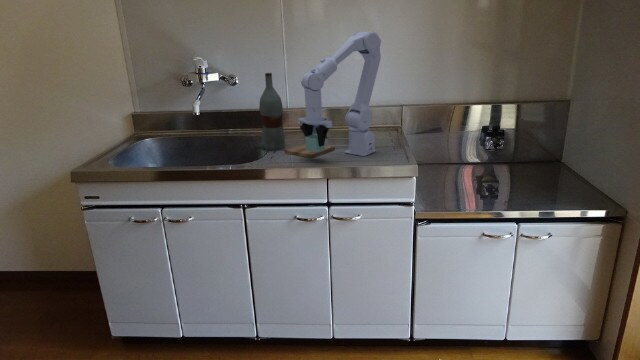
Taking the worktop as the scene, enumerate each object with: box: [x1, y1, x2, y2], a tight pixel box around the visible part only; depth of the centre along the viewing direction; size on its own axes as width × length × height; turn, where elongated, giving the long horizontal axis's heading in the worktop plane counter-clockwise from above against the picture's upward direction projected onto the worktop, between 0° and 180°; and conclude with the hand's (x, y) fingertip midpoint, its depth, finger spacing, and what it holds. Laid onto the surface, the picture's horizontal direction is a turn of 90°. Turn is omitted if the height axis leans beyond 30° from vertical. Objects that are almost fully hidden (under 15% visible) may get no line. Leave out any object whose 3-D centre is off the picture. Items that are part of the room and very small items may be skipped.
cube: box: [304, 134, 326, 152], centre depth 160 cm, size 5×5×5 cm
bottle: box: [259, 72, 286, 151], centre depth 177 cm, size 9×9×30 cm
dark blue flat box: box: [313, 116, 328, 139], centre depth 190 cm, size 9×3×11 cm, turn 146°
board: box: [284, 142, 336, 159], centre depth 173 cm, size 14×14×1 cm
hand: (315, 144), depth 160 cm, fingers closed on cube, 5 cm apart
